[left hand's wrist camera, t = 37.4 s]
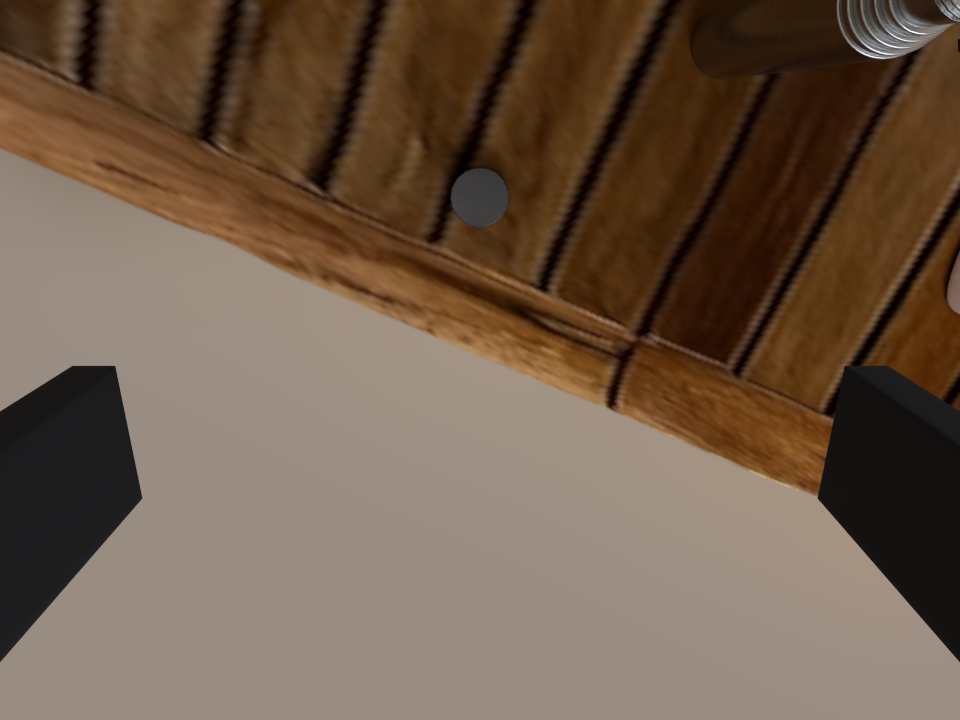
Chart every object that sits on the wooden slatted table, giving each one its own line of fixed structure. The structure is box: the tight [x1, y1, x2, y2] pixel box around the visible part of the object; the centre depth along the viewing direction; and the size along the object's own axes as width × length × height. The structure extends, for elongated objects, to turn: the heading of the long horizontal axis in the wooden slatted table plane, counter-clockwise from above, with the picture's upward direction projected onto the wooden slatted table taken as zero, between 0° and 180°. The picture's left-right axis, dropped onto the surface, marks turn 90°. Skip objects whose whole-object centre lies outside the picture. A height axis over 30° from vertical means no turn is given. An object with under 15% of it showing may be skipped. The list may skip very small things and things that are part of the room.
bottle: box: [691, 0, 960, 79], centre depth 33 cm, size 4×4×24 cm
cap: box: [450, 165, 509, 227], centre depth 47 cm, size 4×4×2 cm
